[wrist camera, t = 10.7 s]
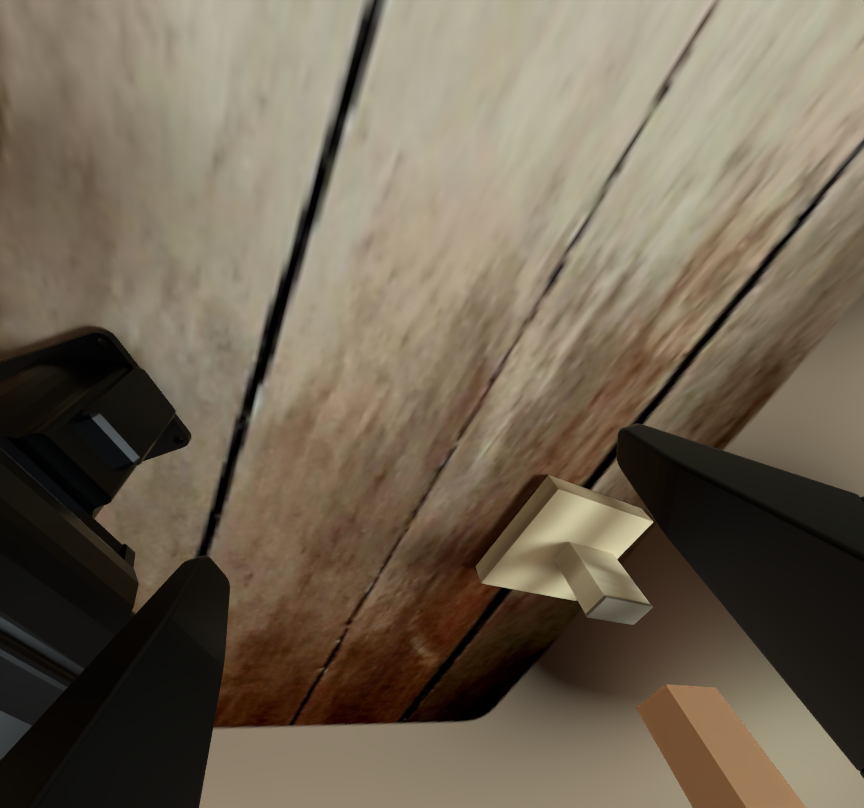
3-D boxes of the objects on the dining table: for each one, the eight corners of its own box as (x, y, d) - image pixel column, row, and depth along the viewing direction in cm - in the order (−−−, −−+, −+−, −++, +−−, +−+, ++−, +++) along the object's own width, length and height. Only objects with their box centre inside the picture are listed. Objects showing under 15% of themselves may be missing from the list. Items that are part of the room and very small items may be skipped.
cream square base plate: (475, 566, 31) (503, 645, 25) (548, 474, 27) (598, 544, 22) (567, 585, 35) (607, 656, 30) (640, 508, 31) (701, 573, 26)
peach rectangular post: (635, 707, 21) (728, 870, 16) (665, 684, 21) (772, 847, 16) (687, 708, 23) (783, 854, 18) (716, 687, 23) (825, 833, 18)
